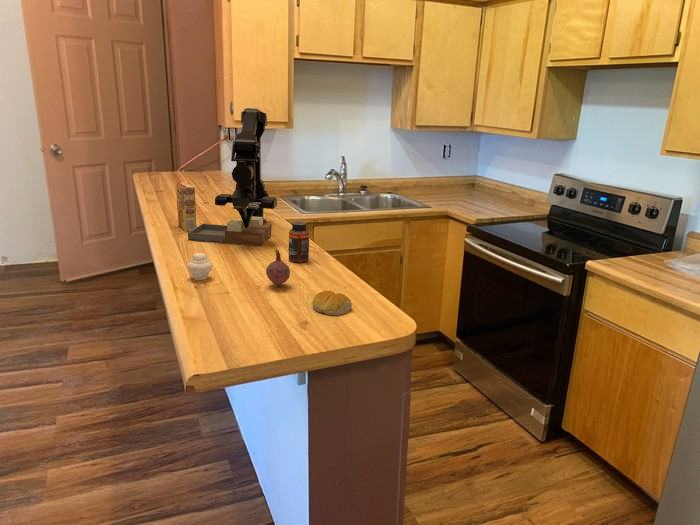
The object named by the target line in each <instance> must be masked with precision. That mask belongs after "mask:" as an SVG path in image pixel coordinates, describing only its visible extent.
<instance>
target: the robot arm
mask: <svg viewBox="0 0 700 525" xmlns="http://www.w3.org/2000/svg"><path fill="white" fill-rule="evenodd" d="M240 124H241V126H242V127H241V130H240V131H241V132H239V133H238V134H236V135H235V138H234V140H233V141H232V145H231V146H232V147H231V148H232V149H231V157H230V160H231V162H236V166H234V168H233V169H232V170H231V171H232V172H231V178H232V180H233V181H234V182H235V189H234V191H233V193H232V194H229V193H220V194H218V195H217V196H215V197H214V206H220V207H221V206H222V207H223V206H226V205H227V204H232V206H233V207H232V209H233V210H236V211H237V212H238V214H239V216H240V219H241V221H243V224H244V226H245V228H248V226H249V223H250V221H251V218H252V216H254V217H263V224H265V223H266V222H267V219H265V218H264V209H268V210H273V209H275V208H276V207H277V206H278V199H277V197H275V196H269V193H268V191H267V190H266V185H265V182H264V180H263V179H262V171H261V170H262V168H261V167H262V164H261V163H262V162H261V161H262V148H261V147H262V146H261V145H262V144H261V143H262V136H263V134H264V133H265V131H266V127H268V126H267V125H268V115H267V113H266V112H263V111H261V110H260V109H259V108H250V107H249V108H247V107H246V108H243V111H241V112H240Z"/></svg>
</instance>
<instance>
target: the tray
mask: <svg viewBox="0 0 700 525" xmlns="http://www.w3.org/2000/svg"><path fill="white" fill-rule="evenodd" d="M225 230H227V224H226V225H225V224H213V223H200V224H199V225H198V226H197V227H196V228H195V229H193V230H192V231H187V240H188V241H189V240H191V242H193V241H194V242H203V243H216V244H218V243H219V244H225Z"/></svg>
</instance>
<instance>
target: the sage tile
mask: <svg viewBox="0 0 700 525" xmlns="http://www.w3.org/2000/svg"><path fill="white" fill-rule="evenodd" d="M226 225H227V231H236V232H242V231H243V230H244V229H245V226H244V224H243V221H242V220H235V219H230V220H229V221H228V222H226Z"/></svg>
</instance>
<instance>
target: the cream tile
mask: <svg viewBox="0 0 700 525" xmlns="http://www.w3.org/2000/svg"><path fill="white" fill-rule="evenodd" d="M263 219H264V216H263V217H254V216H252V218H251V221H250V223H249V226H248V227H260V226H262V225H263V224H264V223H263Z"/></svg>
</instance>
